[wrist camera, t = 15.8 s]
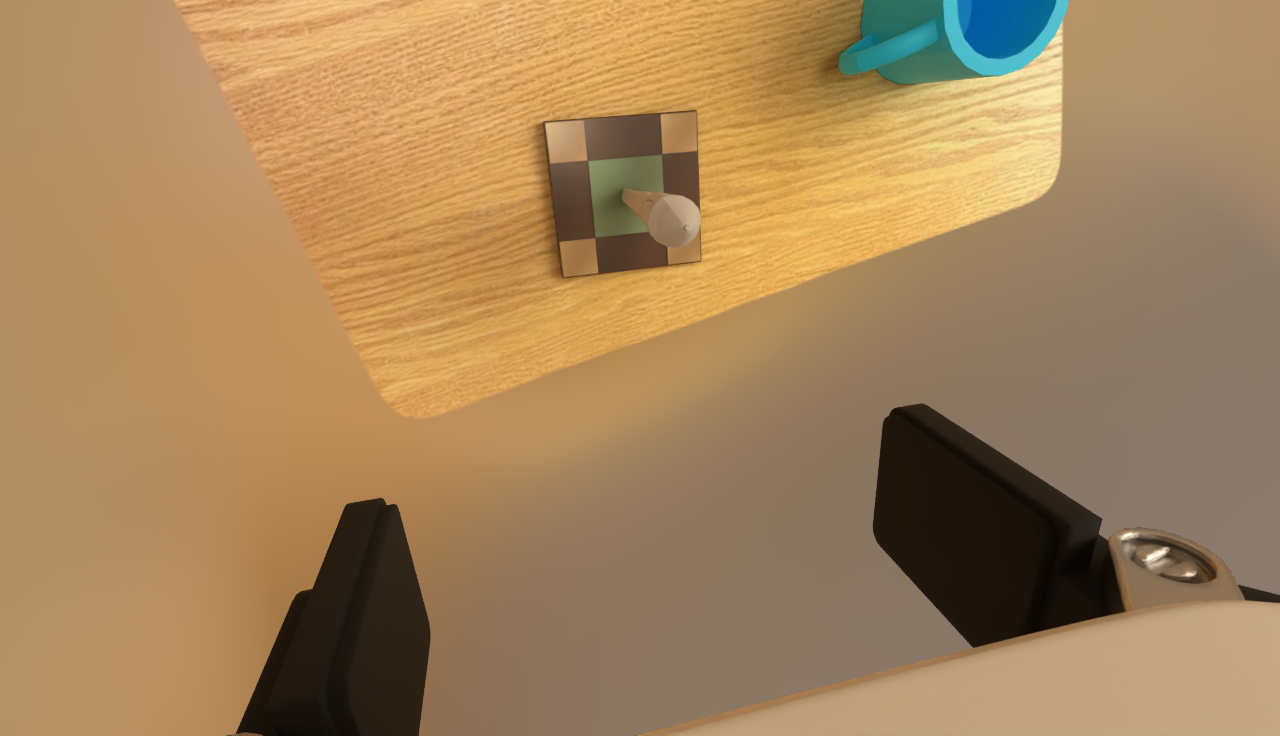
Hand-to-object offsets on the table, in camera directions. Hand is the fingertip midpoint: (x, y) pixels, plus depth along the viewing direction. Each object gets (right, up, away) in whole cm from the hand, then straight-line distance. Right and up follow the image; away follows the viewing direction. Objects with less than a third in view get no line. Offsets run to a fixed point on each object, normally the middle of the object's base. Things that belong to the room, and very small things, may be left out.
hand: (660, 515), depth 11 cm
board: (-1, +14, +30) cm, 33 cm away
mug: (+17, +26, +30) cm, 42 cm away
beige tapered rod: (-1, +14, +29) cm, 32 cm away
